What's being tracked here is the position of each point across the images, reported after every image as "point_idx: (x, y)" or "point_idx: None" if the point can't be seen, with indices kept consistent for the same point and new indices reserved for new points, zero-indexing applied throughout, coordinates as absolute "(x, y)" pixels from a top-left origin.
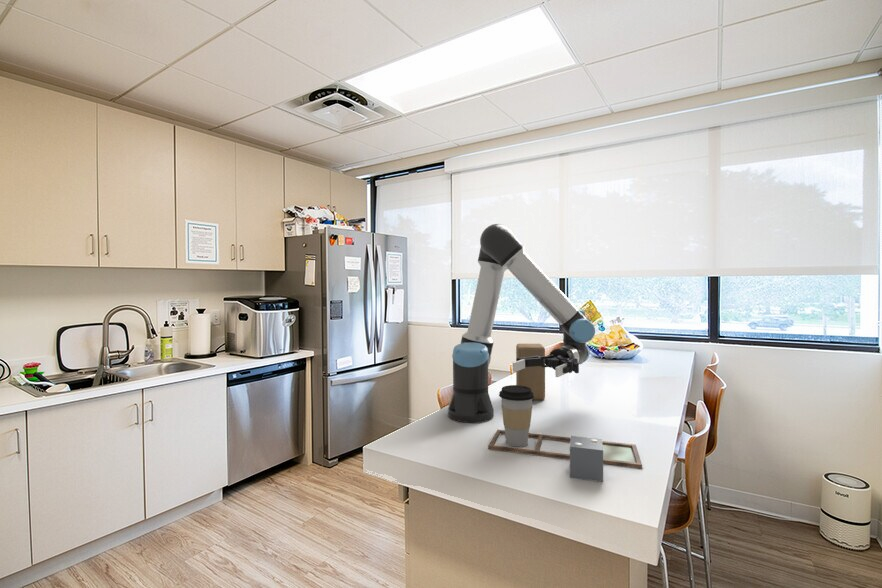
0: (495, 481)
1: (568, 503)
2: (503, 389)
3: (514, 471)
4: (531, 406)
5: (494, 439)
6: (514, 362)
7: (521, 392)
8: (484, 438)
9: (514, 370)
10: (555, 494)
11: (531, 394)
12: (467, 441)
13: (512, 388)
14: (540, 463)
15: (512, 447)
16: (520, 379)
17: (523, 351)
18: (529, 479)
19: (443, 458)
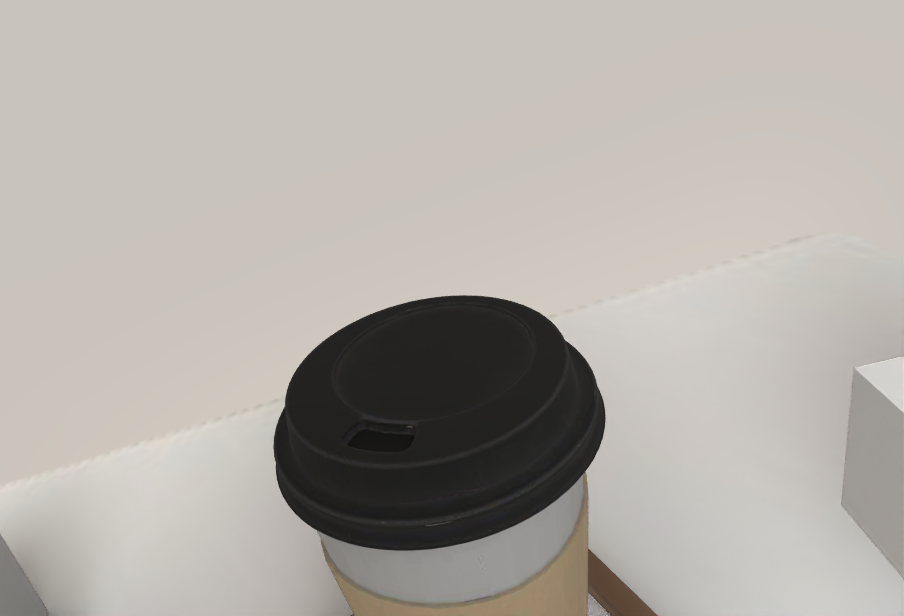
0: None
1: (24, 478)
2: (485, 298)
3: None
4: (334, 561)
5: (603, 585)
6: (902, 381)
7: (318, 346)
8: (703, 590)
9: (852, 485)
10: (79, 483)
11: (290, 456)
12: (711, 495)
13: (468, 362)
14: (223, 610)
15: None
16: None
17: None
18: (204, 483)
19: (586, 354)
